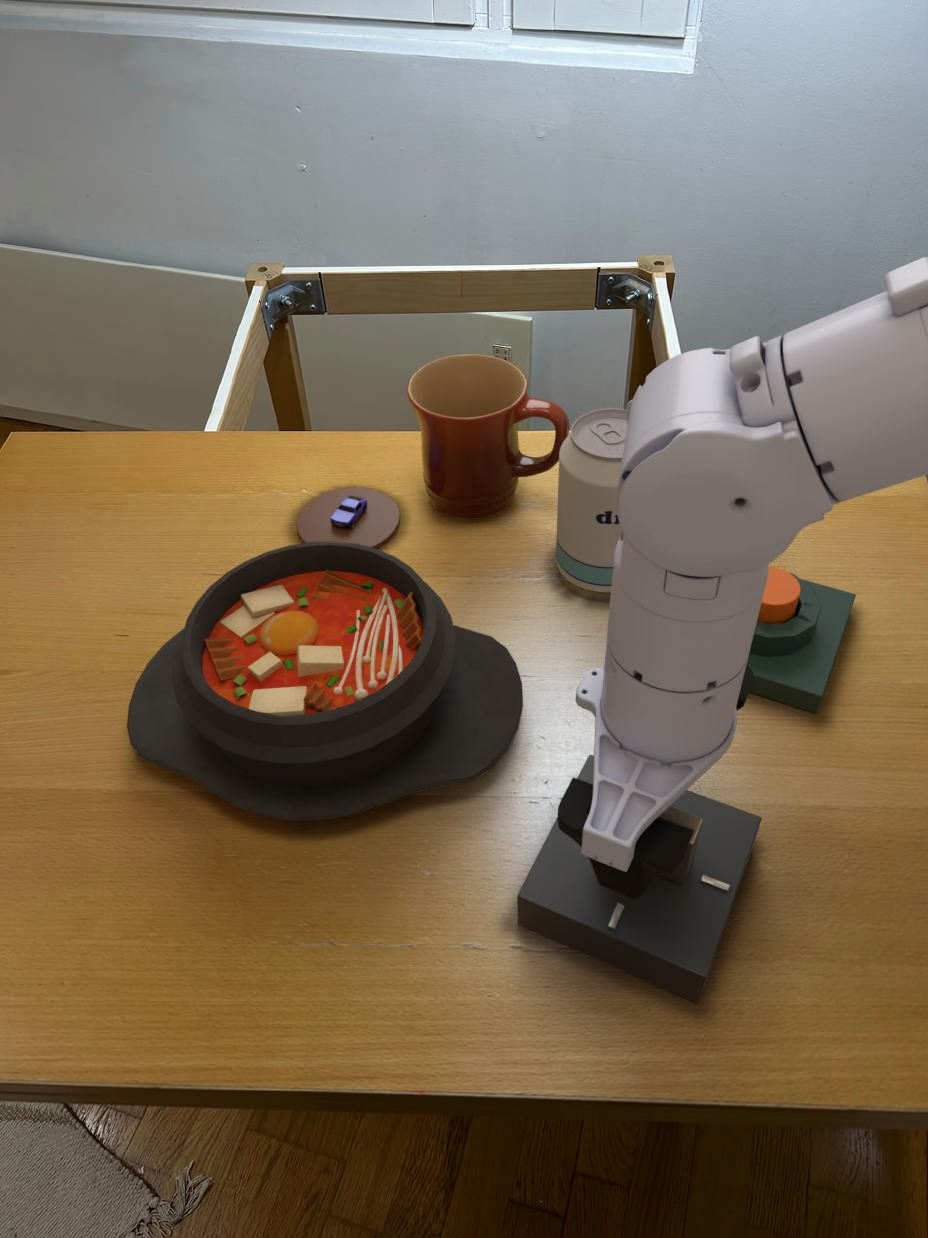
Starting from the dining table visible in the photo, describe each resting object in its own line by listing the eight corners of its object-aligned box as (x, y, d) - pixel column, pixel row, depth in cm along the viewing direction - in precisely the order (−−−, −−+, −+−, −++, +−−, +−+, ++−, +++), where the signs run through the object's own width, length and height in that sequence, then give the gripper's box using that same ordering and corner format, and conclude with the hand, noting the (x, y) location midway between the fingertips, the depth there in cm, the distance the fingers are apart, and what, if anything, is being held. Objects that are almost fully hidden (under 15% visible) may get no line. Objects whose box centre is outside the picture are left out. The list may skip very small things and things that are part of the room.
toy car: (278, 541, 76) (274, 526, 75) (329, 481, 81) (327, 466, 80) (370, 566, 73) (367, 551, 72) (417, 503, 78) (415, 488, 77)
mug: (401, 520, 77) (388, 408, 69) (439, 456, 82) (431, 346, 75) (549, 549, 74) (552, 435, 66) (578, 480, 79) (584, 368, 72)
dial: (693, 861, 51) (704, 815, 48) (683, 886, 50) (693, 841, 47) (603, 825, 53) (608, 780, 50) (592, 849, 52) (596, 804, 49)
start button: (801, 595, 65) (806, 575, 63) (787, 631, 63) (793, 611, 61) (747, 579, 66) (751, 560, 65) (732, 614, 64) (736, 594, 63)
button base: (850, 611, 68) (862, 574, 65) (816, 714, 62) (828, 677, 59) (708, 571, 71) (715, 534, 69) (663, 664, 65) (669, 627, 63)
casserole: (532, 620, 68) (532, 527, 63) (511, 854, 56) (510, 766, 50) (186, 604, 71) (156, 513, 65) (91, 823, 58) (41, 736, 52)
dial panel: (753, 846, 55) (762, 815, 53) (698, 1004, 49) (707, 976, 47) (587, 783, 59) (589, 751, 56) (517, 924, 53) (516, 894, 50)
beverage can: (584, 614, 69) (593, 476, 60) (539, 556, 73) (541, 419, 65) (669, 583, 70) (689, 445, 62) (619, 528, 75) (632, 392, 66)
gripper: (644, 511, 46) (622, 698, 56) (513, 735, 37) (514, 911, 47) (796, 552, 43) (746, 741, 53) (695, 803, 35) (657, 974, 44)
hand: (646, 824), depth 50 cm, fingers open, 7 cm apart
